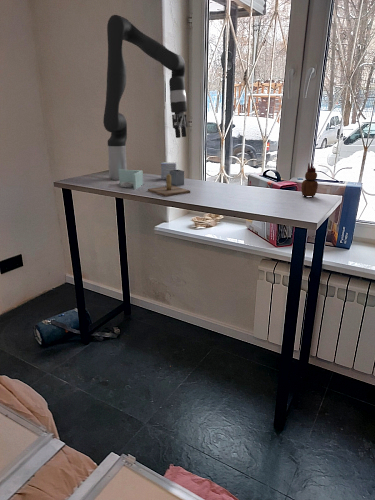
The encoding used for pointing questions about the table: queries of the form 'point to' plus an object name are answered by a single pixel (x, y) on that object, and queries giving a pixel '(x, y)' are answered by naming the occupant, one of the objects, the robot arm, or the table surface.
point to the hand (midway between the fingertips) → (181, 137)
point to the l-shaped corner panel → (131, 178)
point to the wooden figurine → (310, 182)
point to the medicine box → (167, 168)
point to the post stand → (168, 189)
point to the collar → (177, 177)
